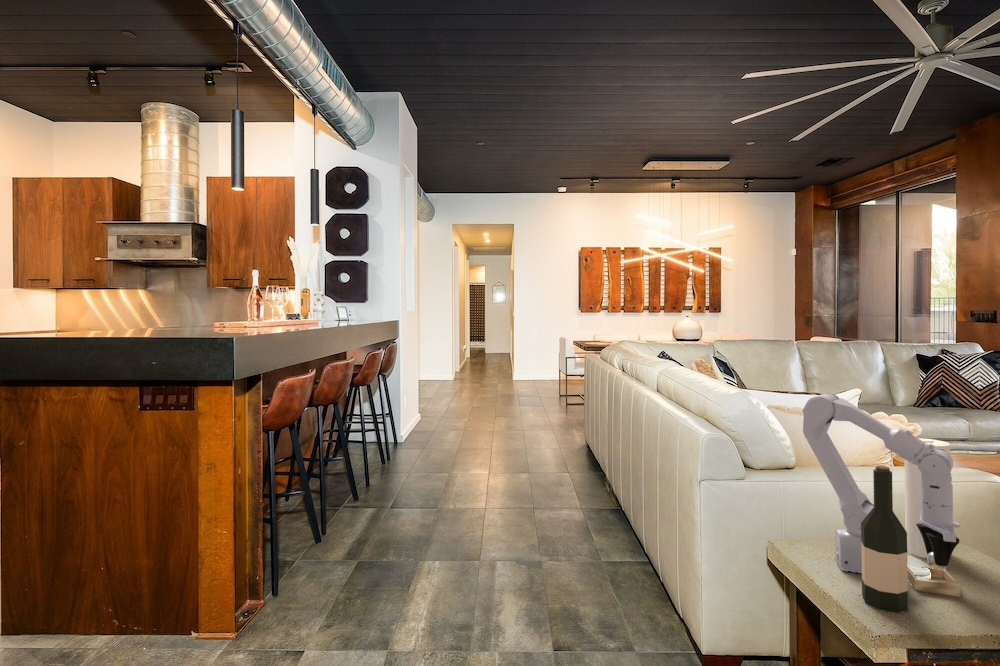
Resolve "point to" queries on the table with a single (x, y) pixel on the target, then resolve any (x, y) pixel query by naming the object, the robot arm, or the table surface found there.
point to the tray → (936, 583)
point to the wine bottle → (884, 550)
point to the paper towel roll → (916, 502)
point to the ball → (932, 563)
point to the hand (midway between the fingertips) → (937, 561)
